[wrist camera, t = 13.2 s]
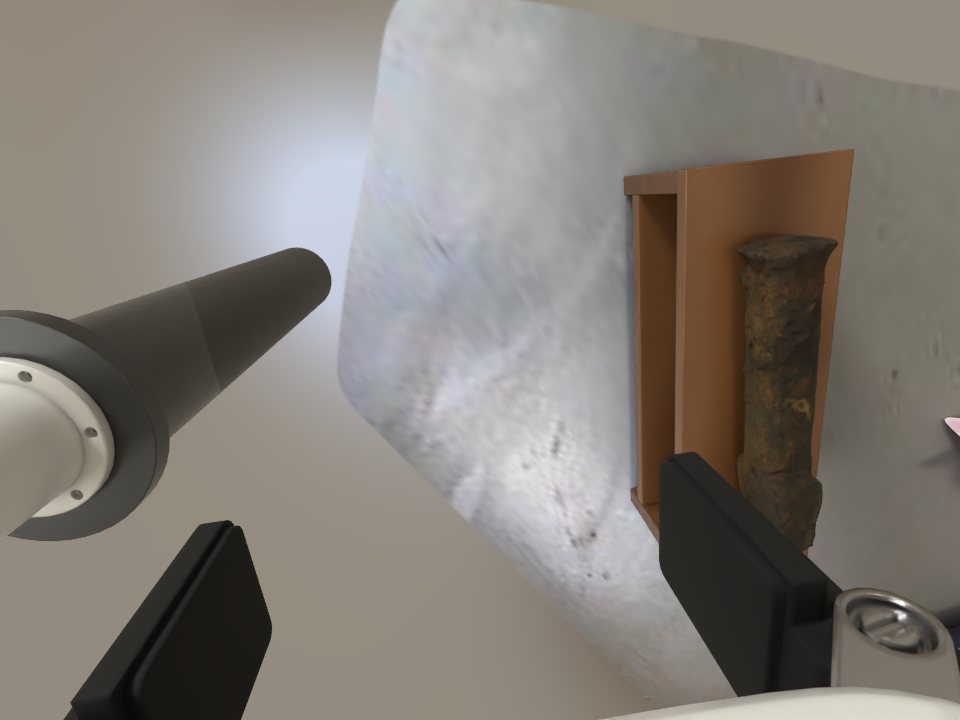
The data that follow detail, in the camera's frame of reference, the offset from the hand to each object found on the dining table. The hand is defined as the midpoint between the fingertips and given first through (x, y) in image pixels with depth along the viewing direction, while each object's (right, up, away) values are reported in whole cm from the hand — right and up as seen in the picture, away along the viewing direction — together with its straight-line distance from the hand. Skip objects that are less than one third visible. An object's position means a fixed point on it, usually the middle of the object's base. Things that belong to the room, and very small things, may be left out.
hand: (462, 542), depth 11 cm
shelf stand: (+16, +5, +27) cm, 32 cm away
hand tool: (+17, +2, +19) cm, 26 cm away
